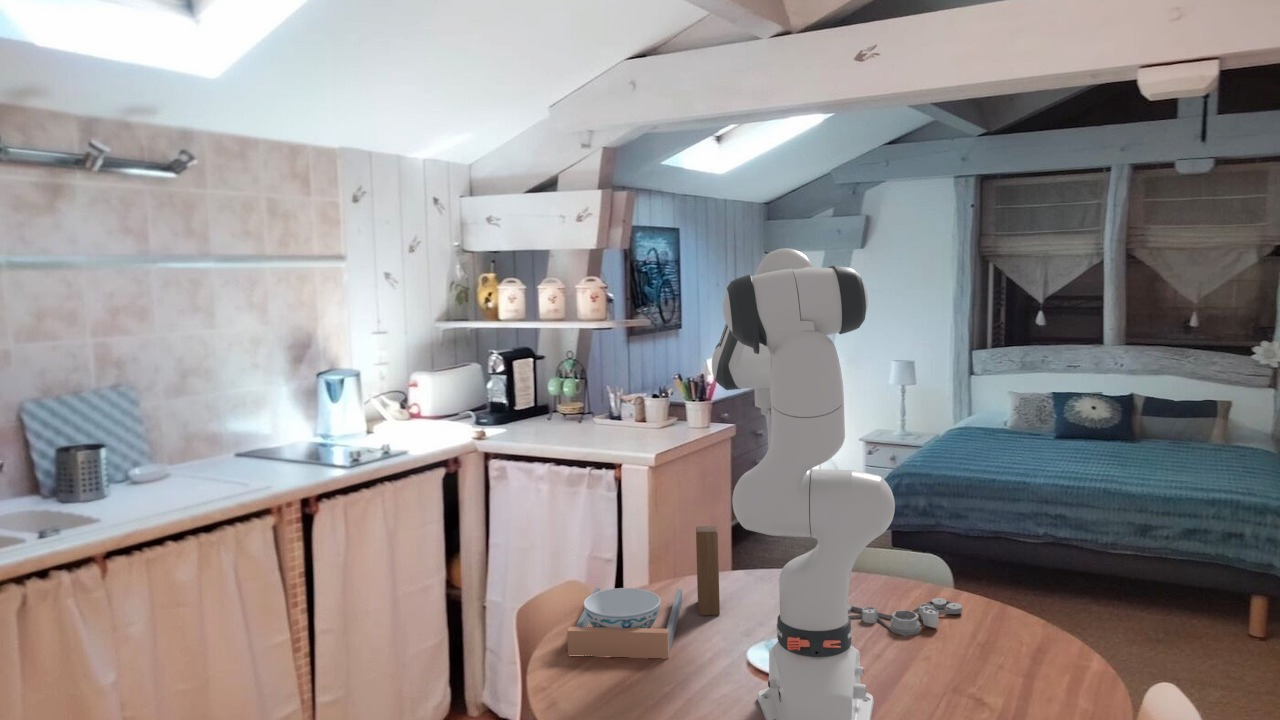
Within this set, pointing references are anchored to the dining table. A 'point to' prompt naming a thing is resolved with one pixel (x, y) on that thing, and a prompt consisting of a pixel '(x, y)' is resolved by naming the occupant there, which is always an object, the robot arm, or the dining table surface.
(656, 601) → the chinaware
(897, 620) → the pulley system
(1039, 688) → the dining table surface
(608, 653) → the wooden tray
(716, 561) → the wooden block
